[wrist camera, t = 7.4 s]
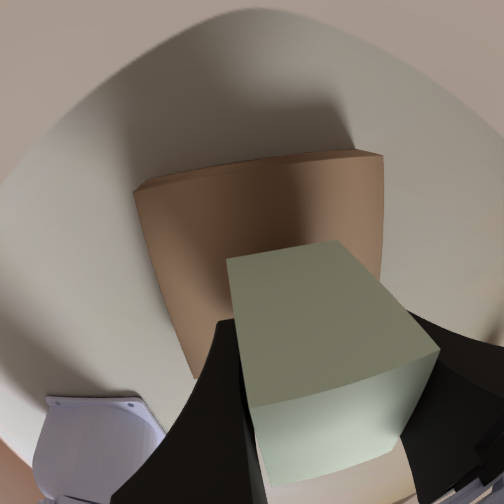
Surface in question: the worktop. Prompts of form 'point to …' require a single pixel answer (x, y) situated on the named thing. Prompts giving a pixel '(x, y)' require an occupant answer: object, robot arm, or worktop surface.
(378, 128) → the worktop surface
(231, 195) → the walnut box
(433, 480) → the robot arm
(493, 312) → the worktop surface
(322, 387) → the sage-green block
